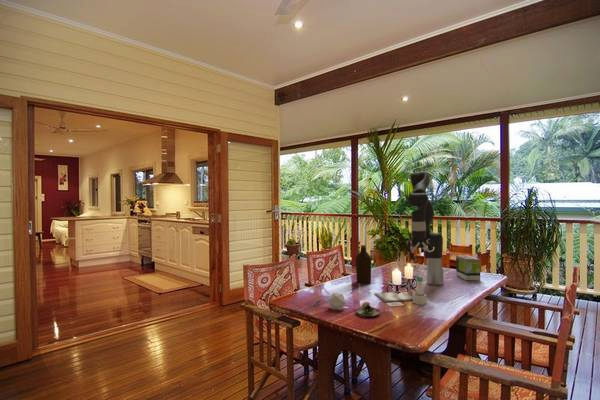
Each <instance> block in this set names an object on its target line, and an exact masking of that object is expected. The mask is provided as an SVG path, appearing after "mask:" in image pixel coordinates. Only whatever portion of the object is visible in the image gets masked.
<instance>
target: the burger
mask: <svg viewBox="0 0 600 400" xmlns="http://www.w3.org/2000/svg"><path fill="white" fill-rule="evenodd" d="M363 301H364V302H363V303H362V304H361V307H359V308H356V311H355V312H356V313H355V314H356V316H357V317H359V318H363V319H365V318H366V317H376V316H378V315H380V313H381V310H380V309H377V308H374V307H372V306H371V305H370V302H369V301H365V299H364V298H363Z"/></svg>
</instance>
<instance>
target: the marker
mask: <svg viewBox="0 0 600 400" xmlns="http://www.w3.org/2000/svg"><path fill="white" fill-rule="evenodd" d="M415 279H416V293H417V296H423V293H424V292H423V291H424V290H423V286H424V285H423V276H421V275H419V276H416V278H415Z"/></svg>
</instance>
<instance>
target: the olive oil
mask: <svg viewBox="0 0 600 400" xmlns="http://www.w3.org/2000/svg"><path fill="white" fill-rule="evenodd" d="M366 247H367V246H366V245H364V244H362V245H360V252H359V253H358V254H357V255H356V256H355V274H356V283H357V284H359V285H369V284H372V256H371V255H370V254H369V253H368V252H367V248H366Z"/></svg>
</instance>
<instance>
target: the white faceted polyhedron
mask: <svg viewBox="0 0 600 400" xmlns="http://www.w3.org/2000/svg"><path fill="white" fill-rule="evenodd" d="M328 303H329V306H330V308H331V310H334V311H335V310H336V311H342V310H343V308H344V307H345V305H346V304H347V302H346V299H345V296H344V294H343V293H336V292H333V293H332V294H331V296H330V298H328Z"/></svg>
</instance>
